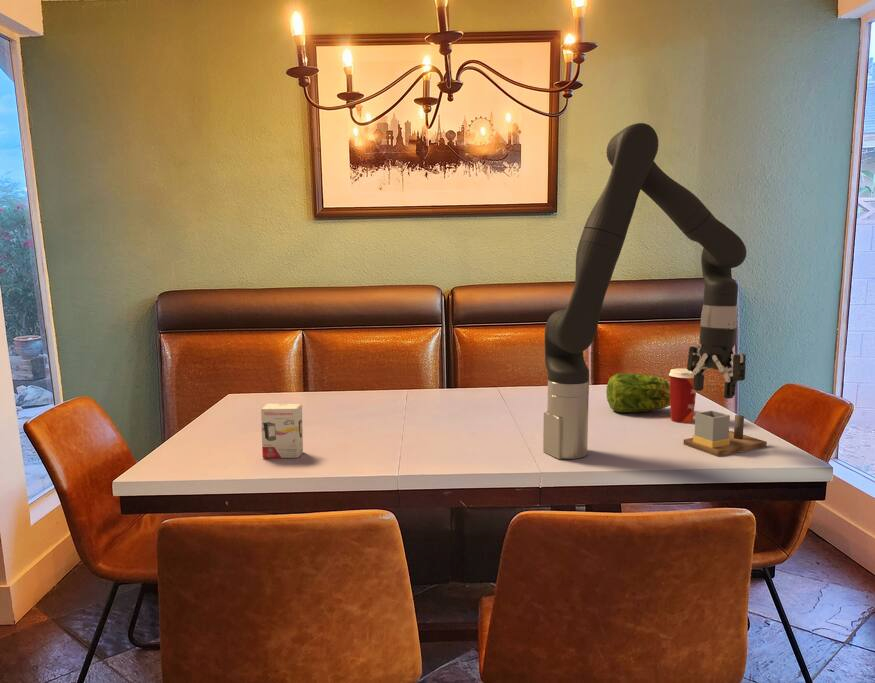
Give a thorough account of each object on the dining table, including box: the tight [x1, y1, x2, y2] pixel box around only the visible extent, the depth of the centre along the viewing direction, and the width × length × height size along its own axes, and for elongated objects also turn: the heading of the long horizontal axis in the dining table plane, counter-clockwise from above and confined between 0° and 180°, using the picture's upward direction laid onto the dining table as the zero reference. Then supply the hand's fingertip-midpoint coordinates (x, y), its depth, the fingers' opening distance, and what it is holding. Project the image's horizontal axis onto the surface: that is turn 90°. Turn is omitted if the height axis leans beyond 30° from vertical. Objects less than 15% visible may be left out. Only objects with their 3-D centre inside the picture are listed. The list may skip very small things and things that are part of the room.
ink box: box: [260, 403, 304, 459], centre depth 141 cm, size 9×5×12 cm, turn 89°
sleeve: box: [692, 410, 731, 448], centre depth 143 cm, size 6×6×7 cm
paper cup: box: [668, 368, 697, 424], centre depth 166 cm, size 8×8×14 cm
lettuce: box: [605, 373, 671, 414], centre depth 176 cm, size 12×21×11 cm, turn 88°
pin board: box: [682, 414, 768, 457], centre depth 145 cm, size 16×10×7 cm, turn 114°
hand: (713, 394), depth 141 cm, fingers open, 8 cm apart
